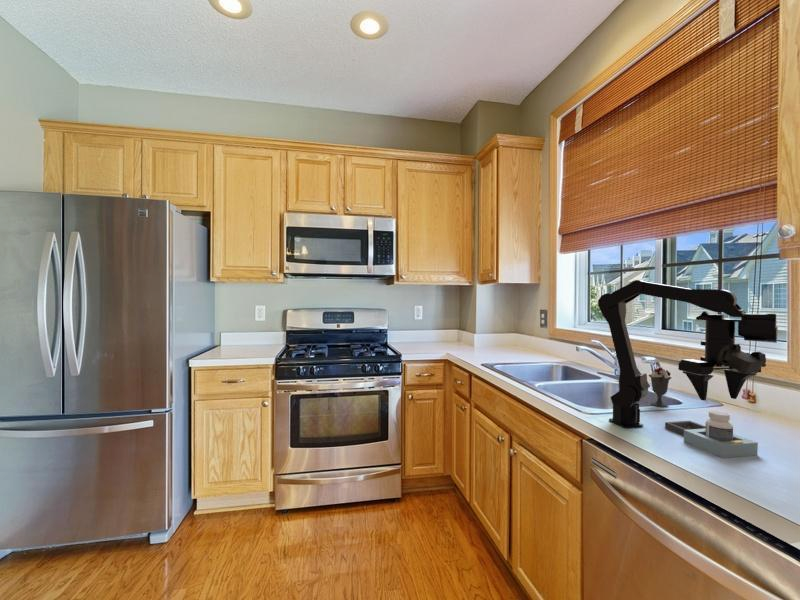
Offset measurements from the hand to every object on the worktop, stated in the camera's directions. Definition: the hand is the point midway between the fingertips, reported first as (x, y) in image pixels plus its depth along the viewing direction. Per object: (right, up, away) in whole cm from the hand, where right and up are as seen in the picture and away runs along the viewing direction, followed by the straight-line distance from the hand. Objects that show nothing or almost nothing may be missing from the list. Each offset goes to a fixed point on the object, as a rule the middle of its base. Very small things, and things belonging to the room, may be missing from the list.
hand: (718, 399), depth 94 cm
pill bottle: (-1, -12, -1) cm, 12 cm away
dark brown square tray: (0, -12, +9) cm, 15 cm away
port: (-1, -12, -1) cm, 12 cm away
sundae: (+9, -12, +34) cm, 37 cm away
